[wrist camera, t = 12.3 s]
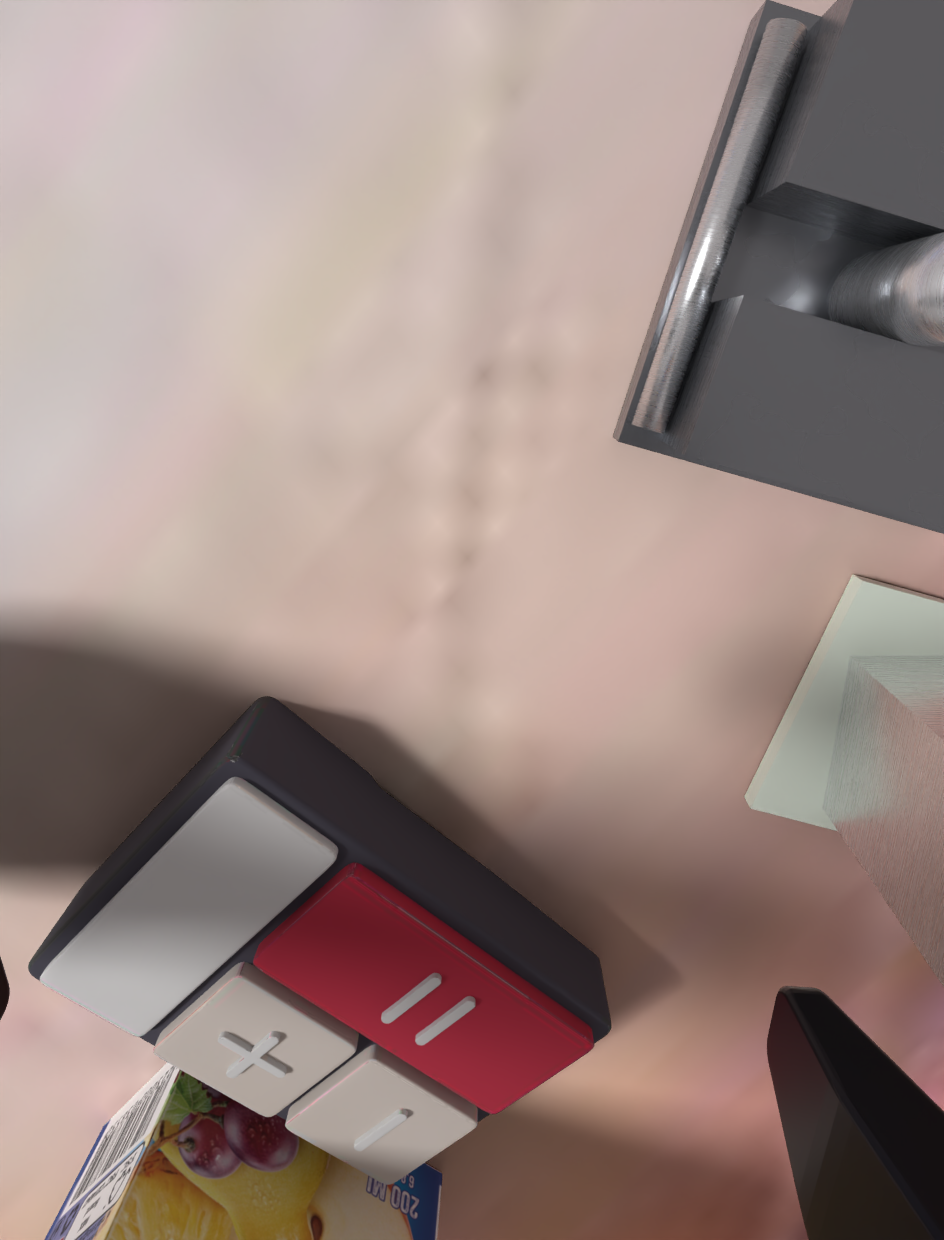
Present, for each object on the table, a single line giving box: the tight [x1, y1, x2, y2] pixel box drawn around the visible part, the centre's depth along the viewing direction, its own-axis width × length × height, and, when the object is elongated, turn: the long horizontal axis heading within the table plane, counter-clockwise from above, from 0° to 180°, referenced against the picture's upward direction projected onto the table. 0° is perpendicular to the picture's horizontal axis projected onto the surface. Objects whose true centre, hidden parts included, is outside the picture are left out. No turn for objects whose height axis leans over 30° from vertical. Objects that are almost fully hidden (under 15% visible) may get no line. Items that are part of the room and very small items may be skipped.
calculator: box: [28, 697, 611, 1185], centre depth 23 cm, size 11×4×15 cm
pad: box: [744, 574, 944, 831], centre depth 21 cm, size 8×8×1 cm
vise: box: [613, 0, 944, 534], centre depth 14 cm, size 9×9×6 cm
